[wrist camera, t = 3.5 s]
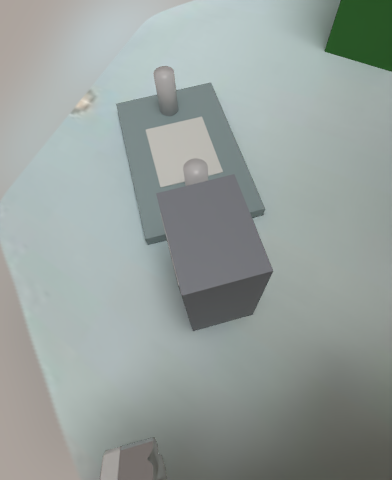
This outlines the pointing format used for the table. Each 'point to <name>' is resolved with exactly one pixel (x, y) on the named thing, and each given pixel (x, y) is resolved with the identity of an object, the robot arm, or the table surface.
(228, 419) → the table surface
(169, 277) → the table surface
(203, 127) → the tray
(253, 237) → the block
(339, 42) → the hardback book
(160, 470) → the robot arm
